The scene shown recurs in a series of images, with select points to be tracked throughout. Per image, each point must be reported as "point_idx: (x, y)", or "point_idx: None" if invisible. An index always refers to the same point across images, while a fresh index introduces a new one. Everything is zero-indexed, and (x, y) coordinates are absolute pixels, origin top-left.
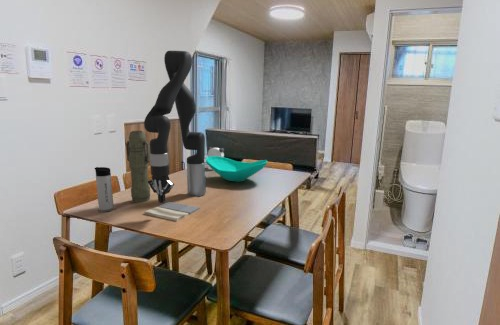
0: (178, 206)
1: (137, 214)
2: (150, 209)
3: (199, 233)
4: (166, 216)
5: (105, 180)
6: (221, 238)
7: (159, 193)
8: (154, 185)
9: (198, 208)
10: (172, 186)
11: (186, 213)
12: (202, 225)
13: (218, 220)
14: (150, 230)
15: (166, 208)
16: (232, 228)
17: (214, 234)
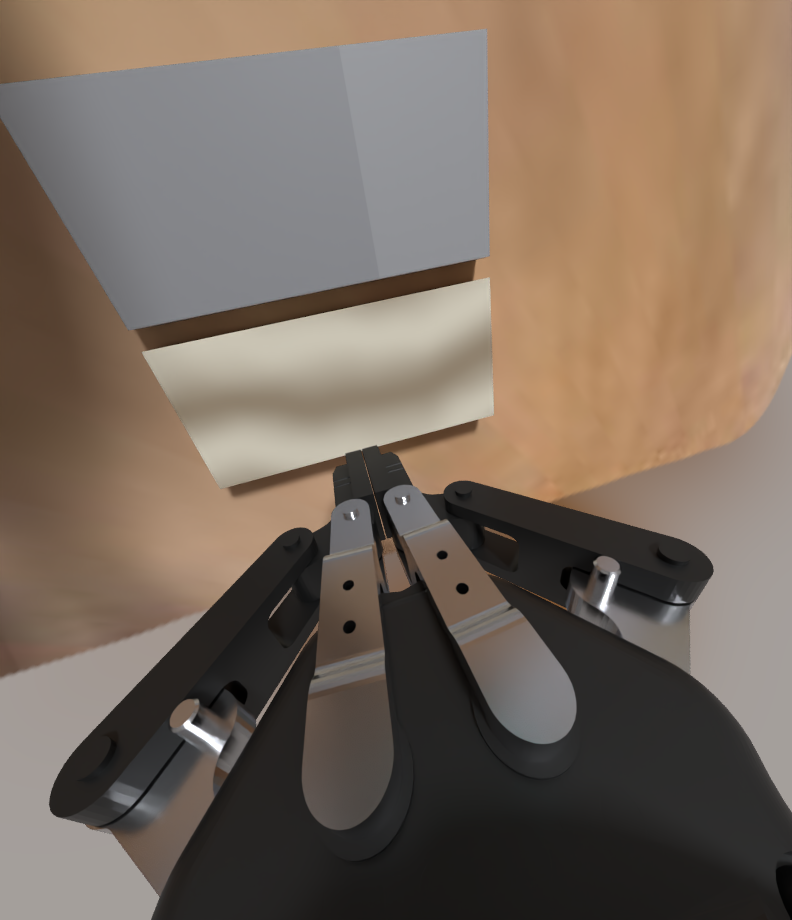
0: (281, 184)
1: (172, 493)
2: (194, 434)
3: (636, 415)
4: (414, 435)
5: None
6: (731, 388)
7: (381, 550)
8: (261, 656)
9: (485, 71)
10: (628, 539)
11: (480, 295)
12: (619, 337)
13: (689, 193)
14: None
15: (237, 308)
16: (778, 257)
17: (699, 379)
